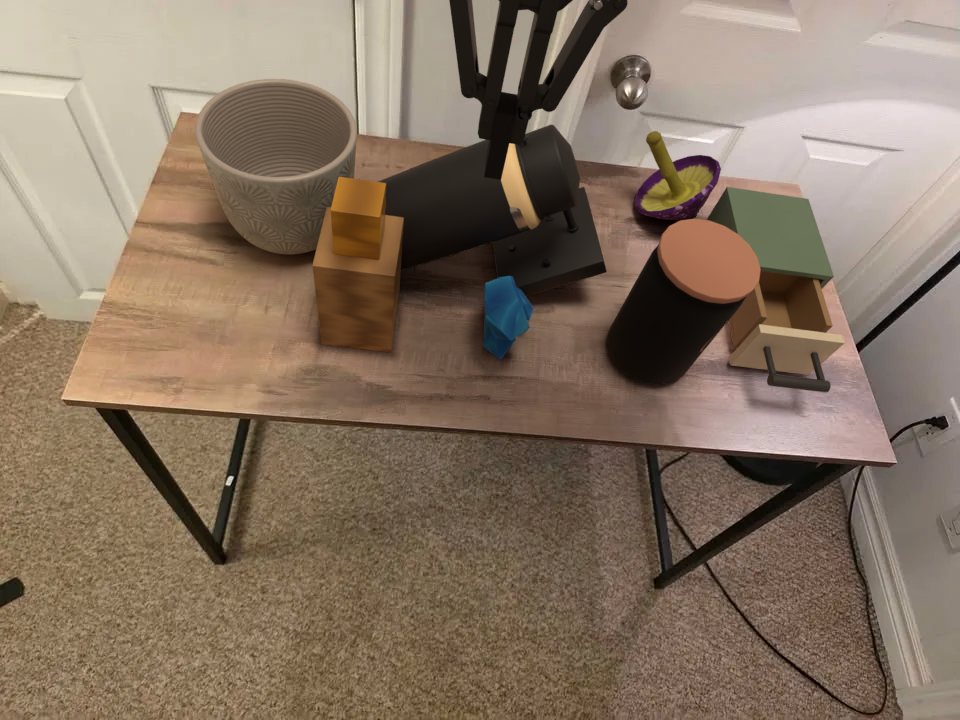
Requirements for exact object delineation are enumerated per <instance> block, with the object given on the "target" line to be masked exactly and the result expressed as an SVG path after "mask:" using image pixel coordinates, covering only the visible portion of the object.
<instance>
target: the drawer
mask: <svg viewBox="0 0 960 720" xmlns="http://www.w3.org/2000/svg"><path fill="white" fill-rule="evenodd" d="M728 325H729V326H728V327H729V331H730V336H731V340H732V341H731V342H732V346H733V348H734V349H735V350H734V352H732V354H731V355H730V356H729V357H728V359H729V363H730V366H733V367H741V368H742V367H743V368H748V369H749V368H750V369H757V370H764V371H765V370H766V371H767V373H768V375H767V378H766V384H767V386H769V387H776V388H785V389H792V390H800V391H801V390H802V391H808V392H809V391H810V392H818V393H828V392H830V390H831V386H832V385H831V382H830V381H829V380H827V379H826V378H825V377H826V376H825V375H824V371H823V367H822V364H823V363H824V362H825V361H827V360H828V359H829V358H830V357H831V356H832V355H833V354H834V353H836V352H837V351H838V350H839V349H840V348H841V347H842V346H843V345H845V344H846V342H845V338H844V335H843V334H840V333H839V334H838V333H831V332H828V331H830V329H831V328H833V326H834V325H833V322H832V318H831V315H830V312H829V309H828V305H827V303H826V299H825V296H824V293H823V288H822V289H821V286H820V283H819V280H818V279H816V278H808V277H801V276H794V275H786V274H779V273H772V272H764V271H760V278H759V282H758V284H757V285H756V287H755V288H754V290H753V291H752V292H751V293H750V294H749V295H748V296H746V298H745V300H744V301H743V303H742V304H741V306H740V307H739V308H738V310H737V311H736V312H735V313H734V315H733V316H732V317H731V318H730V319H729V321H728ZM777 372H784V373H791V374H800V375H808V376H809V375H810V374H812V373H813V372H814V374H815V376H816V377H815V378H809V377H803V376H793V375H785V374H778V373H777Z"/></svg>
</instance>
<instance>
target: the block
mask: <svg viewBox="0 0 960 720" xmlns="http://www.w3.org/2000/svg"><path fill="white" fill-rule="evenodd" d="M330 211H331V224H332V238H333V251H334V254H337V255H345V256H353V257H360V258H368V259H376V260H379V259H380V254H381V248H382V242H383V236H384V231H385V211H386V183H381V182H378V181H373V180H366V179H359V178H354V179H353V178H346V177H338V181H337V185H336V189H335V193H334V198H333V202H332V206H331V210H330Z"/></svg>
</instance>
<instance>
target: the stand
mask: <svg viewBox="0 0 960 720" xmlns="http://www.w3.org/2000/svg"><path fill="white" fill-rule="evenodd" d="M330 210H331V207H327V208H326V212H325V216H324V220H323V224H322V228H321V232H320V237H319V241H318V245H317V249H316V250H315V254H314V258H313V261H312V273H313V283H314V290H315V299H316V308H317V316H318V317H317V318H318V324H319V333H320V341H321V345H323V346H331V347H339V348H347V349H348V348H350V349H358V350H366V351H373V352H374V351H375V352H383V353H384V352H385V353H392V351H393V344H394V343H393V342H394V336H395V330H396V321H397V316H398V309H399V302H400V291H401V289H400V288H401V272H402V271H401V259H402V242H403V226H404V218H403V217H396V216H389V215H385V231H384V236H383V242H382V248H381V254H380V259H379V260H376V259H368V258H360V257H353V256H345V255H337V254H334V251H333V238H332V224H331V211H330Z"/></svg>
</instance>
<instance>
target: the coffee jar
mask: <svg viewBox="0 0 960 720" xmlns="http://www.w3.org/2000/svg"><path fill="white" fill-rule="evenodd" d="M760 270H761V269H760V265H759V262H758V258H757V256H756V254H755V253H754V251H753V250H752V248H751V247H750V245H749V244H748V243H747V242H746V241H745V240H744V239H743V238H742V237H740V236H739V235H738V234H737V233H735V232H734V231H732V230H730V229H729V228H727V227H725V226H723V225H720V224H718V223H715V222H712V221H709V220H707V219H699V218H694V219H688V220H683V219H680V220H678V221H676V222H675V223H673V224H671V225H669V226H668V227H667V228H666V230H664V231H663V233H662V234H661V235H660V239H659V242H658V245H656V247H655V248H654V249H653V250H652V251H651V253H650V255H649V257H648V258H647V260H646V262H645V264H644V266H643V267H642V269H641V271H640V273H639V274H638V277H637V279H636V280H635V282H634V284H633V285H632V288H631V289H630V291H629V293H628V294H627V296H626V298H625V299H624V301H623V303H622V305H621V307H620V309H619V311H618V313H617V314H616V316H615V317H614V319H613V321H612V323H611V325H610V326H609V331H608V333H607V344H608V345H607V346H608V351H609V353H610V355H611V358H612V360H613V362H614V364H615V365H616V366H617V367H618V368H619V370H620V371H621V372H622V373H623V374H625V375H626V376H628V377H629V378H630V379H632V380H634V381H637V382H640V383H642V384H645V385H657V386H661V385H666V384H671V383H674V382H676V381H677V380H679V379H680V378H682V377H684V375H685V374H686V373H687V372H688V371H689V370H690V368H691V367H692V366H693V365H694V363H696V361H697V360H698V359H699V357H701V355H702V354H703V353H704V351H705V350H706V349H707V348H708V347H709V345H710V344H711V343H712V341H714V339H715V338H716V336H717V335H718V334H719V333H720V332H721V331H722V329H723V328H724V327H725V326H726V324H728V323H729V319H730V318H731V317H732V316H733V315H734V313H735V312H736V311H737V310H738V308H739V307H740V306H741V304H742V303H743V301H744V300H745V298H746V296H748V295H749V294H750V293H751V292H752V291H753V290H754V288H755V287H756V285H757V284H758V282H759V278H760Z"/></svg>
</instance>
